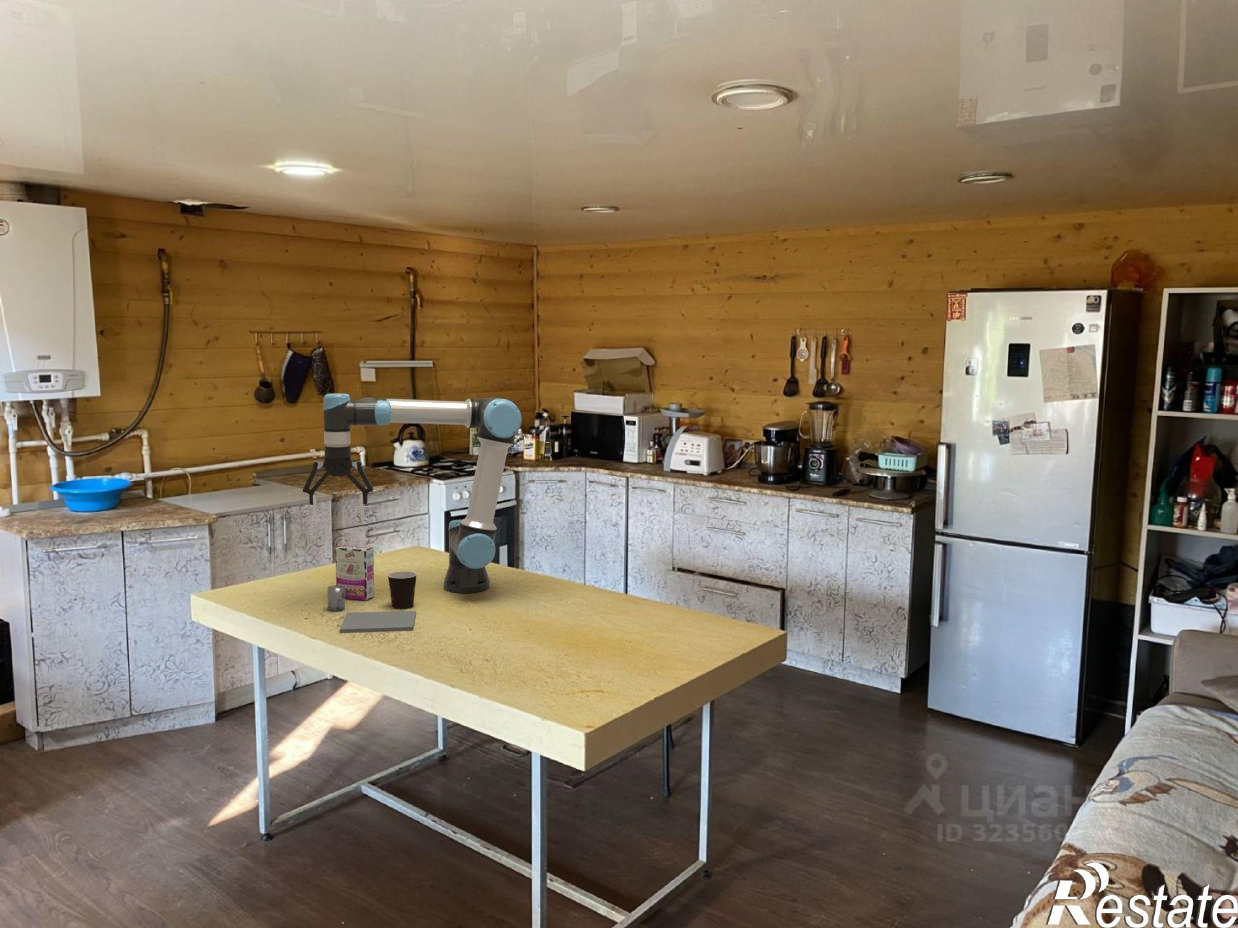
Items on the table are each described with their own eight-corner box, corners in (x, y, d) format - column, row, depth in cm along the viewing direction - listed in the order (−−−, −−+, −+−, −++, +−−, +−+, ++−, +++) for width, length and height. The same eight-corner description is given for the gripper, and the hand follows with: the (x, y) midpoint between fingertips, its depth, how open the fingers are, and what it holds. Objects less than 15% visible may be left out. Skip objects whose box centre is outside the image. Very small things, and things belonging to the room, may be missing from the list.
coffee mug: (409, 611, 272) (409, 579, 270) (383, 609, 273) (382, 577, 272) (425, 600, 283) (425, 570, 282) (400, 598, 285) (399, 568, 283)
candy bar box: (375, 597, 286) (374, 547, 284) (366, 601, 281) (365, 550, 279) (344, 593, 289) (343, 544, 287) (335, 597, 284) (334, 547, 282)
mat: (416, 613, 269) (416, 610, 269) (413, 630, 253) (412, 626, 253) (347, 615, 266) (347, 612, 266) (339, 632, 250) (339, 629, 250)
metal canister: (346, 607, 275) (345, 584, 274) (344, 611, 270) (343, 589, 269) (329, 607, 274) (328, 585, 273) (326, 612, 269) (326, 589, 268)
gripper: (381, 444, 273) (382, 512, 276) (296, 444, 269) (298, 513, 272) (379, 446, 266) (380, 517, 269) (291, 446, 262) (293, 518, 265)
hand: (339, 515), depth 270 cm, fingers open, 13 cm apart
